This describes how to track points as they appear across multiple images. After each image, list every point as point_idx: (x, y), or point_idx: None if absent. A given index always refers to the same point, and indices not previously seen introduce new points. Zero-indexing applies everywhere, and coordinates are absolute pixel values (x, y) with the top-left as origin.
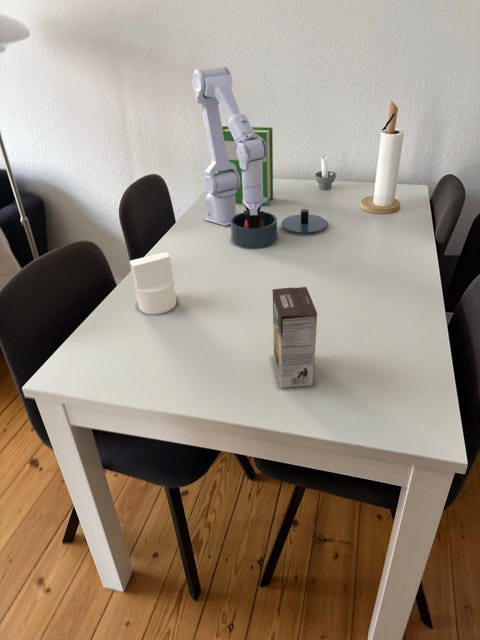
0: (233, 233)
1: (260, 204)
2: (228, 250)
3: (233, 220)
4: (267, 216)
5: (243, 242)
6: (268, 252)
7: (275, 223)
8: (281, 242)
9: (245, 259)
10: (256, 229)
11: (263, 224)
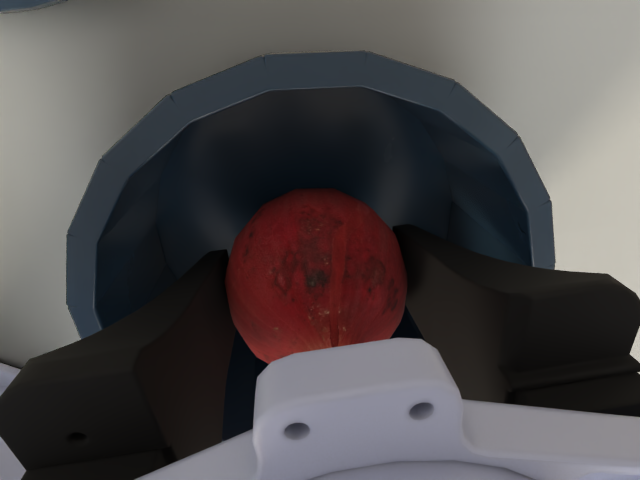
0: None
1: (629, 440)
2: None
3: None
4: (134, 186)
5: None
6: (537, 108)
7: (413, 67)
8: (378, 3)
9: (590, 241)
10: (551, 261)
11: (335, 205)
